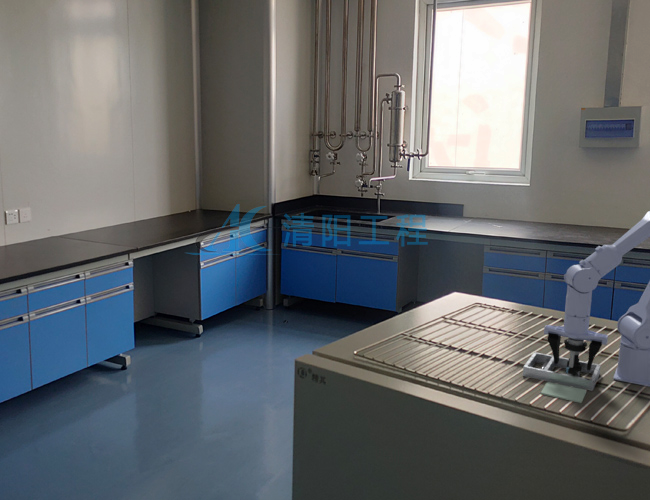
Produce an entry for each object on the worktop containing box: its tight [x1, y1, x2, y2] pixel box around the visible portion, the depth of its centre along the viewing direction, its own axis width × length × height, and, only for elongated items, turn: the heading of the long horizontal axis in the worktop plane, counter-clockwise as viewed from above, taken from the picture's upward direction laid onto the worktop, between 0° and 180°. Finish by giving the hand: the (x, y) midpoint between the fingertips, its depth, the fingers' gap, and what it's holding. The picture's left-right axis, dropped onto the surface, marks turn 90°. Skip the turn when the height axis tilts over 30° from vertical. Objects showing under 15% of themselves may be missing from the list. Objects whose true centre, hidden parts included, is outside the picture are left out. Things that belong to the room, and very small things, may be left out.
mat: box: [540, 381, 588, 404], centre depth 143 cm, size 9×7×1 cm
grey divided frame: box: [522, 351, 602, 392], centre depth 153 cm, size 16×12×2 cm
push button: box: [563, 337, 588, 377], centre depth 151 cm, size 7×5×10 cm
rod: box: [539, 361, 549, 370], centre depth 155 cm, size 2×8×2 cm
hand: (572, 365), depth 151 cm, fingers open, 7 cm apart
